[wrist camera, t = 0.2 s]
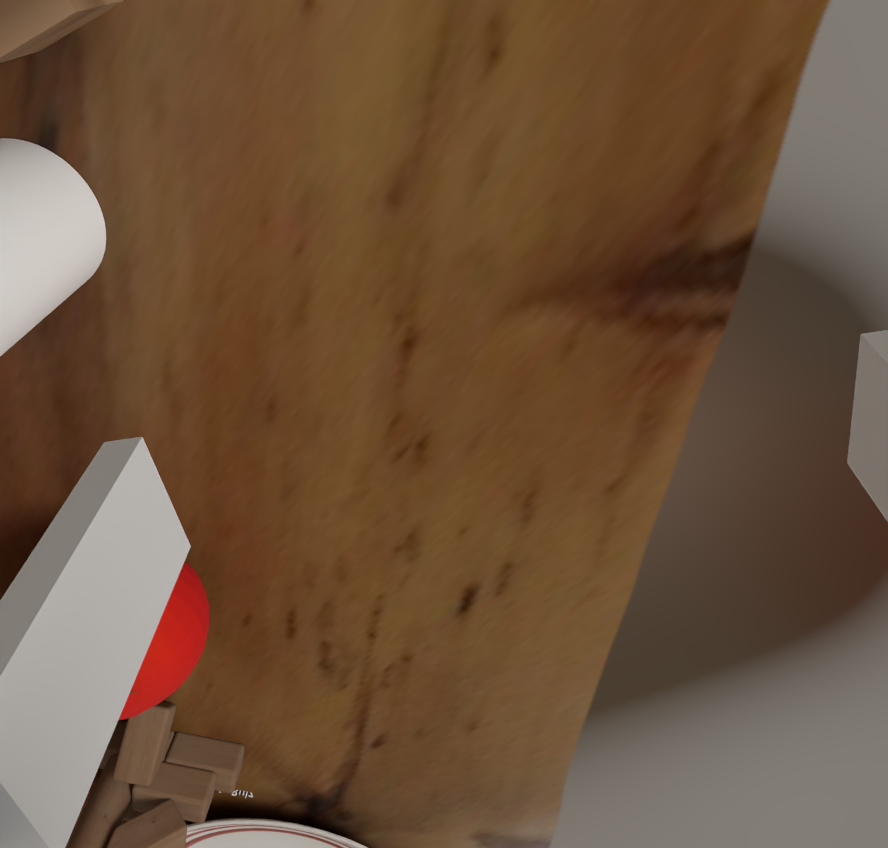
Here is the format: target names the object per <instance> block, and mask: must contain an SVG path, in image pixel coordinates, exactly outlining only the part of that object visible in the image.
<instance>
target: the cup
mask: <svg viewBox="0 0 888 848" xmlns="http://www.w3.org/2000/svg"><path fill="white" fill-rule="evenodd" d="M105 247H106V228H105V222H104V218H103V214H102V211H101V208H100V206H99V204H98V201H97V199H96V197H95V196H94V194H93V192H92V190H91V189H90V187H89V186H88V184H87V183H86V182H85V181H84V179H83V178H82V177H81V176H80V175H79V174H78V172H77V171H76V170H75V169H74V168H72V167H71V166H70V165H69V164H68V163H67V162H66V161H64V160H63V159H62V158H60V157H59V156H57V155H56V154H54V153H53V152H51V151H49V150H47V149H45V148H43V147H41V146H39V145H36V144H33V143H31V142H27V141H23V140H18V139H10V138H0V356H1V355H2V354H4V353H5V352H6V351H7V350H8V349H9V348H10V347H12V346H13V345H14V344H15V343H16V342H17V341H18V340H20V339H21V338H22V337H23V336H24V335H25V334H26V333H28V332H29V331H30V330H31V329H32V328H33V327H35V326H36V325H37V324H38V323H39V322H40V321H41V320H43V319H44V318H45V317H46V316H47V315H48V314H49V313H51V312H52V311H53V310H54V309H55V308H56V307H57V306H59V305H60V304H61V303H62V302H63V301H64V300H65V299H67V298H68V297H69V296H70V295H71V294H72V293H73V292H75V291H76V290H77V289H78V288H79V287H80V286H82V285H83V284H84V283H85V282H86V281H87V280H88V279H89V278H90V277H91V276H92V275H93V274H94V273H95V272H96V270H97V269H98V267H99V265H100V263H101V261H102V259H103V256H104V252H105Z"/></svg>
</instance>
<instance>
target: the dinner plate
mask: <svg viewBox="0 0 888 848" xmlns="http://www.w3.org/2000/svg"><path fill="white" fill-rule="evenodd" d="M184 848H368V847H366V846H364V845H361V844H359V843H357V842H354V841H352V840H350V839H347V838H345V837H342V836H339V835H336V834H333V833H330V832H328V831H324V830H321V829H317V828H314V827H311V826H306V825H302V824H298V823H292V822H286V821H279V820H272V819H259V818H228V819H216V820H209V821H204V822H203V823H193V824H189V825H187V836H186V846H185V847H184Z"/></svg>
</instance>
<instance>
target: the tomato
mask: <svg viewBox="0 0 888 848" xmlns="http://www.w3.org/2000/svg"><path fill="white" fill-rule="evenodd" d="M208 628H209V603H208V599H207V596H206V592H205V589H204V586H203V583H202V581H201V579H200V577H199V576H198V574H197V573H196V571H195V570H194V569H193V568H192V567H191V566H190V565H189V564H188V563H186V562H184V564H183V566H182V569H181V571H180V573H179V576H178V578H177V581H176V583H175V585H174V588H173V590H172V593H171V595H170V597H169V600H168V602H167V605H166V607H165V609H164V612H163V614H162V617H161V619H160V621H159V624H158V626H157V629H156V631H155V633H154V636H153V638H152V641H151V643H150V645H149V648H148V650H147V653H146V655H145V657H144V660H143V662H142V665H141V667H140V669H139V672H138V674H137V677H136V679H135V681H134V684H133V686H132V689H131V691H130V693H129V696H128V698H127V701H126V703H125V705H124V708H123V710H122V713H121V715H120V717H119V720H124V719H127V718H131V717H135V716H137V715H139V714H140V713H142V712H144V711H146V710H148V709H150V708H151V707H153V706H155V705H157V704H159V703H160V702H162V701H163V700H164V699H166V698H167V697H168V696H169V695H171V694H172V693H173V692H174V691H175V690H176V689H178V688H179V687H180V686H181V685H182V684H183V683H184V681H185V680H186V679H187V677H188V676H189V675H190V673H191V672H192V670H193V669H194V667H195V665H196V664H197V662H198V661H199V659H200V656H201V654H202V652H203V650H204V646H205V643H206V639H207V635H208Z"/></svg>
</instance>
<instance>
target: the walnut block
mask: <svg viewBox="0 0 888 848" xmlns="http://www.w3.org/2000/svg"><path fill="white" fill-rule="evenodd" d="M123 1H124V0H0V63H1V62H5V61H8V60H12V59H15V58H18V57H22V56H25V55H29V54H32V53H35V52H39V51H41V50H43V49H44V48H46V47H48V46H49V45H51V44H53V43H54V42H56V41H58V40H59V39H61V38H63V37H64V36H66V35H68V34H69V33H71V32H73V31H74V30H76V29H78V28H79V27H81V26H83V25H85V24H86V23H88V22H90V21H91V20H93V19H95V18H96V17H98V16H100V15H101V14H103V13H105V12H106V11H108V10H110V9H111V8H113V7H115V6H116V5H118V4H120V3H121V2H123Z"/></svg>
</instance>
